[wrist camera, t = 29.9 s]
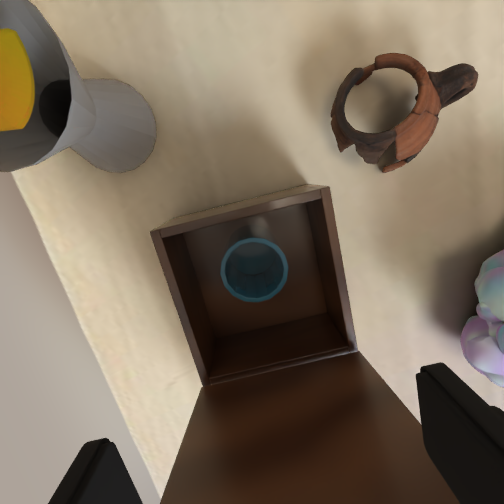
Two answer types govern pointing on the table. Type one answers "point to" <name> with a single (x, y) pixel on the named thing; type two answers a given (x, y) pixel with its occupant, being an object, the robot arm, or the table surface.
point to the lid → (305, 441)
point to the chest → (268, 311)
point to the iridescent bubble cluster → (487, 322)
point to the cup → (253, 264)
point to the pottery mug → (417, 122)
